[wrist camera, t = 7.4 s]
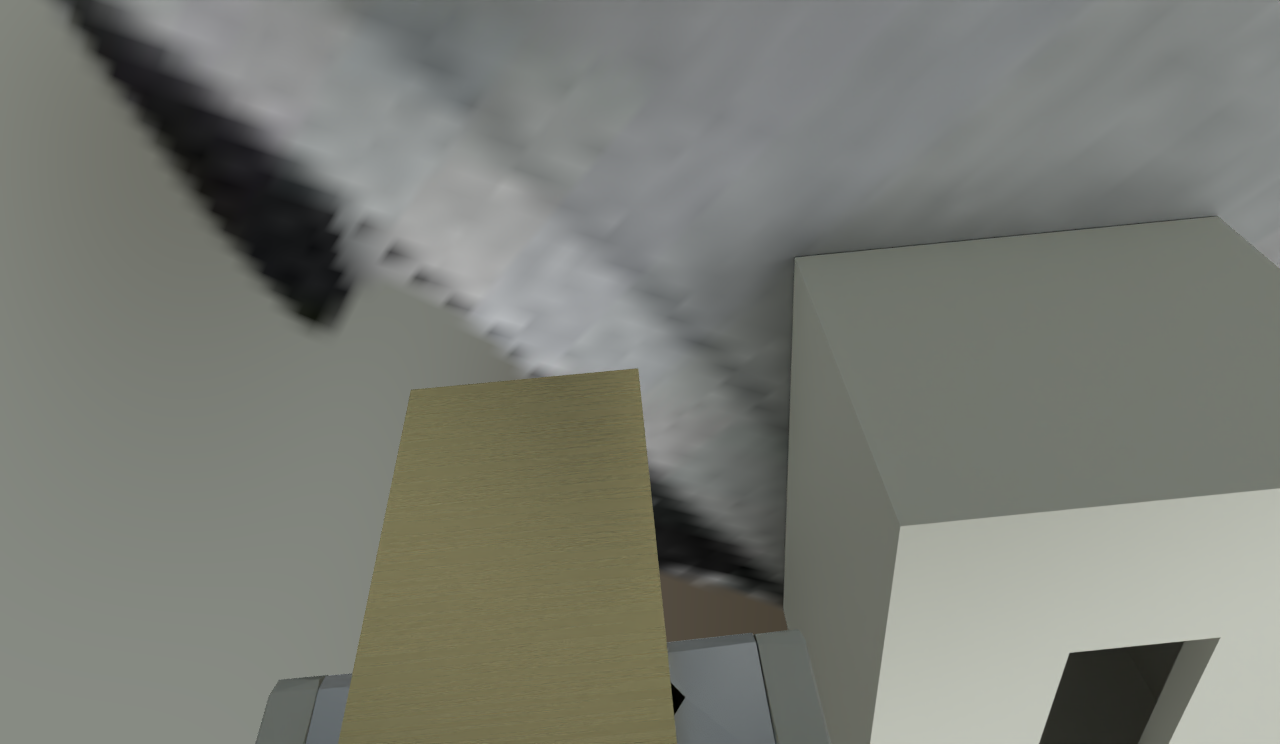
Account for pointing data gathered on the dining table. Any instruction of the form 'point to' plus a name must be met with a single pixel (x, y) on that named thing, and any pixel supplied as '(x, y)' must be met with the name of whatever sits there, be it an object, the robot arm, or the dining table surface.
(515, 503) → the yellow rectangular block
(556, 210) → the dining table surface
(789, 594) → the tissue box
